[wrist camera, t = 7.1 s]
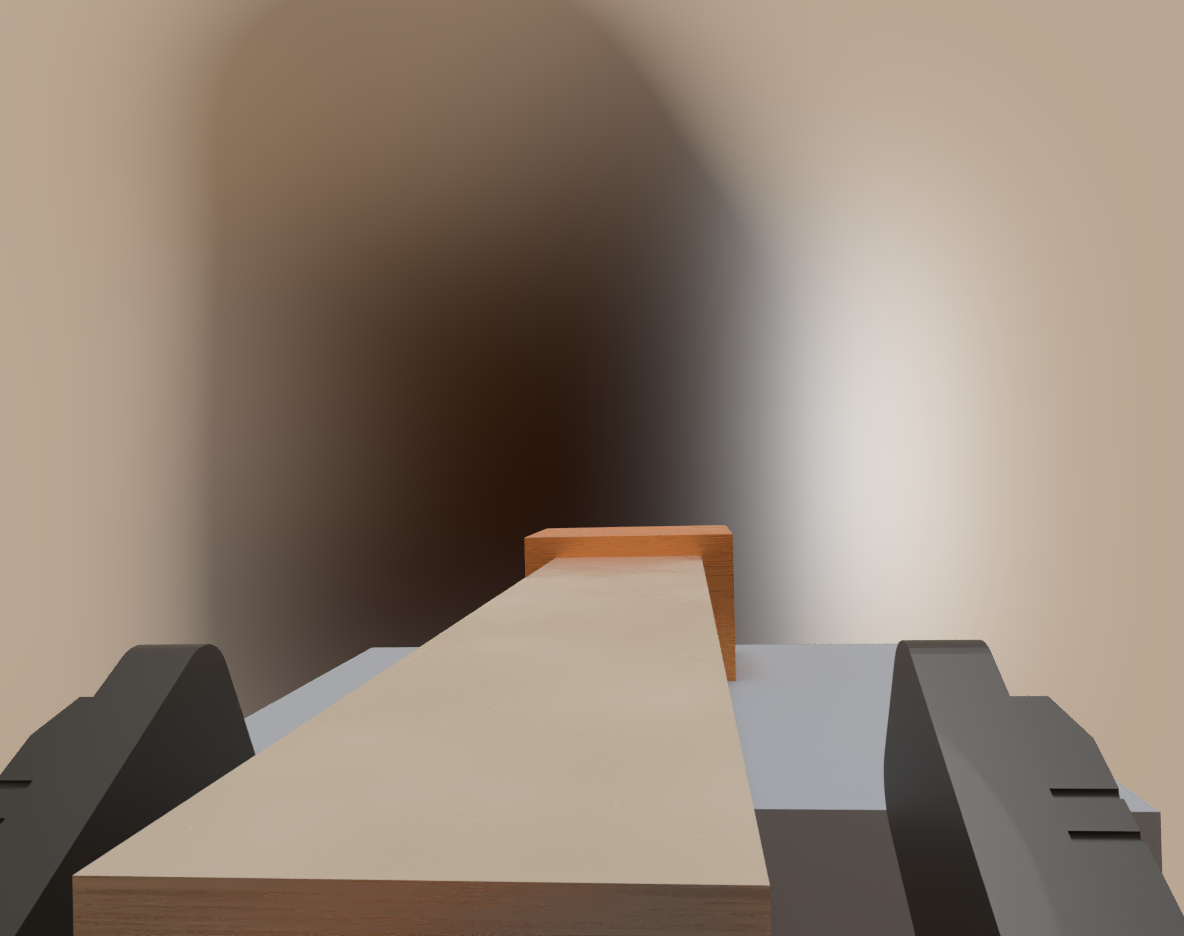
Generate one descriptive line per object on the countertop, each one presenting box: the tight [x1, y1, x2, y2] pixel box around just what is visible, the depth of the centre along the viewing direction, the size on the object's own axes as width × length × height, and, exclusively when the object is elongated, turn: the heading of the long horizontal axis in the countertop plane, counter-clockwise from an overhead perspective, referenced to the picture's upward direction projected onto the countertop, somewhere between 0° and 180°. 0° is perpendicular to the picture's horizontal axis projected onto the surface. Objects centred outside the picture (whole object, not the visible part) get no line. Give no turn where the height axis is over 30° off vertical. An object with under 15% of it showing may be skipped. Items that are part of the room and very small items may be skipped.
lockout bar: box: [72, 525, 771, 936], centre depth 17 cm, size 24×5×4 cm, turn 175°
